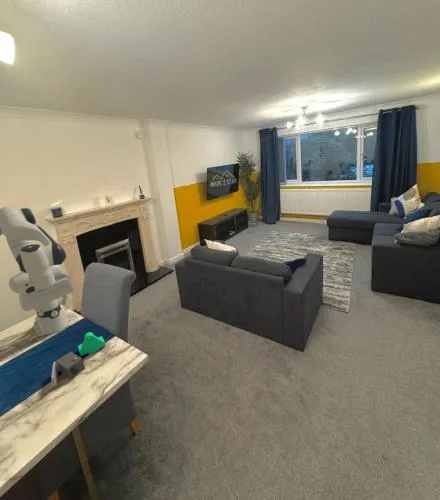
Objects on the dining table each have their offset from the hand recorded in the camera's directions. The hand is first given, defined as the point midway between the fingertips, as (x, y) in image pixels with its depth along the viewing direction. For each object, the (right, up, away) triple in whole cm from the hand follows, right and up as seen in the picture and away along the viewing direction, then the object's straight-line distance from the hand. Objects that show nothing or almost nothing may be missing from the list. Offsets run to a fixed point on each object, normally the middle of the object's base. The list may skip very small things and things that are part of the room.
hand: (53, 309), depth 116 cm
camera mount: (+8, -25, +20) cm, 33 cm away
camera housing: (+5, -30, +7) cm, 31 cm away
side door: (0, -32, +2) cm, 32 cm away
